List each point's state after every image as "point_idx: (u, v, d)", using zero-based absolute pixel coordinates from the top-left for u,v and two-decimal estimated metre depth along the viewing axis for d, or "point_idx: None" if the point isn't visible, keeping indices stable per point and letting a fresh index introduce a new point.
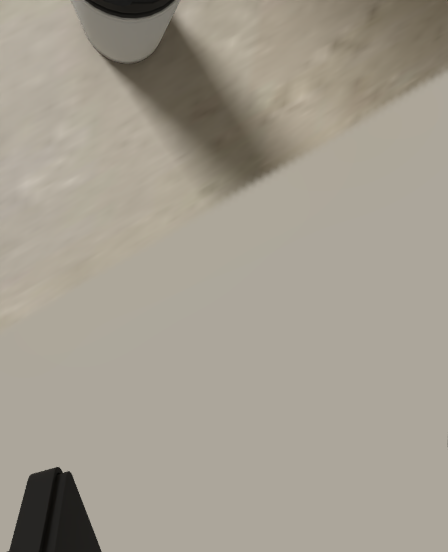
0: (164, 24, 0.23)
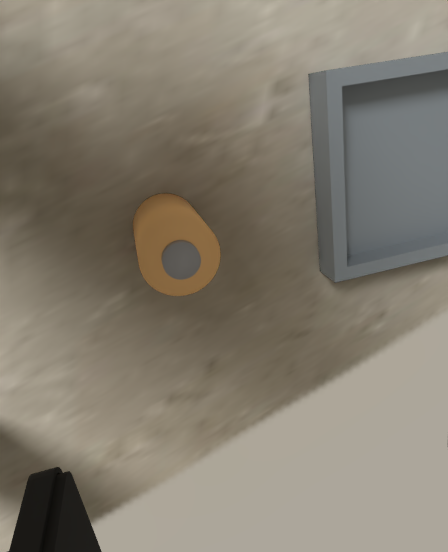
0: None
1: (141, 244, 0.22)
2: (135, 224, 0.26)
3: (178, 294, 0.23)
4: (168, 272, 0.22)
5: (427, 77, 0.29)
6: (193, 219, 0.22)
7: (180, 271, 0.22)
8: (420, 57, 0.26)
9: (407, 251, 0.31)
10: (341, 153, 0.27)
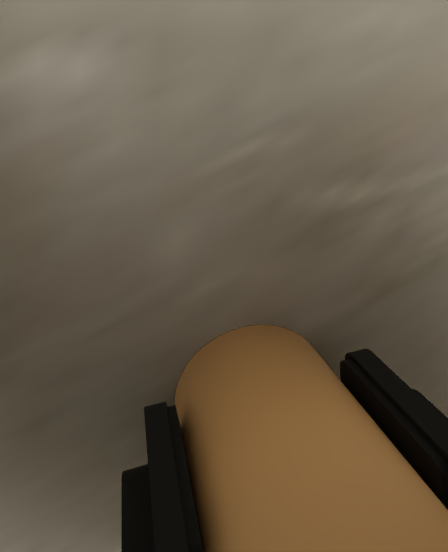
0: None
1: None
2: (189, 434, 0.09)
3: None
4: None
5: None
6: None
7: None
8: None
9: None
10: None
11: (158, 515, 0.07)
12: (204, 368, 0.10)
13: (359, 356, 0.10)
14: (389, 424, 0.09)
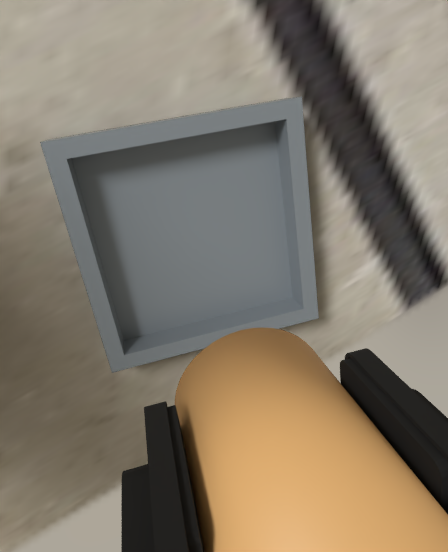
0: None
1: None
2: (189, 438, 0.09)
3: None
4: None
5: (200, 138, 0.25)
6: None
7: None
8: (165, 122, 0.22)
9: (201, 333, 0.27)
10: (85, 233, 0.23)
11: (158, 515, 0.07)
12: (204, 371, 0.10)
13: (359, 356, 0.10)
14: (389, 424, 0.09)
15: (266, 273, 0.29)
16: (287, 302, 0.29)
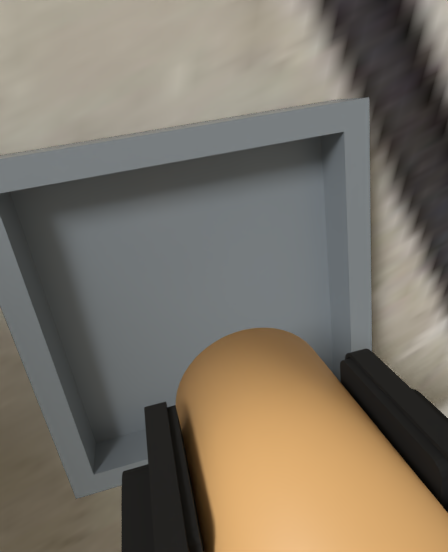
0: None
1: None
2: (190, 438, 0.09)
3: None
4: None
5: (210, 159, 0.16)
6: None
7: None
8: (155, 135, 0.14)
9: None
10: (28, 308, 0.15)
11: (158, 515, 0.07)
12: (205, 371, 0.10)
13: (359, 356, 0.10)
14: (389, 424, 0.09)
15: None
16: None
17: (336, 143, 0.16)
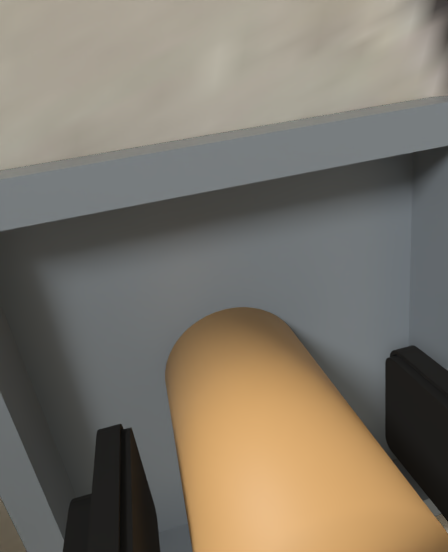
0: None
1: None
2: (176, 401, 0.11)
3: None
4: None
5: (260, 181, 0.11)
6: (396, 507, 0.06)
7: None
8: (189, 150, 0.09)
9: None
10: None
11: None
12: (190, 344, 0.12)
13: (407, 353, 0.10)
14: (446, 422, 0.09)
15: (365, 421, 0.15)
16: None
17: (443, 159, 0.11)
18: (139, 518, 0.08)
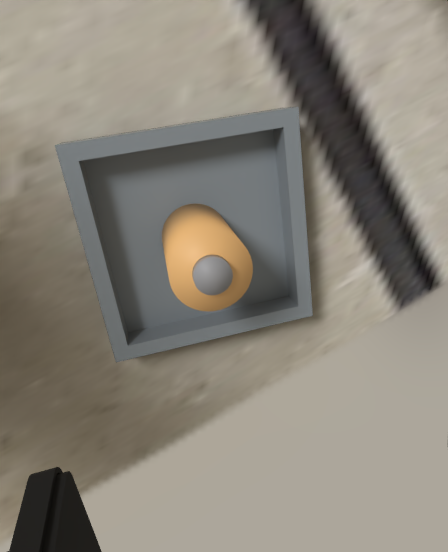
0: None
1: (173, 256, 0.21)
2: (165, 233, 0.26)
3: (206, 309, 0.22)
4: (198, 287, 0.21)
5: (203, 144, 0.26)
6: (227, 234, 0.21)
7: (210, 286, 0.21)
8: (170, 128, 0.24)
9: (201, 327, 0.29)
10: (93, 230, 0.25)
11: None
12: (173, 215, 0.26)
13: None
14: None
15: (264, 272, 0.30)
16: (283, 300, 0.31)
17: (280, 134, 0.26)
18: None
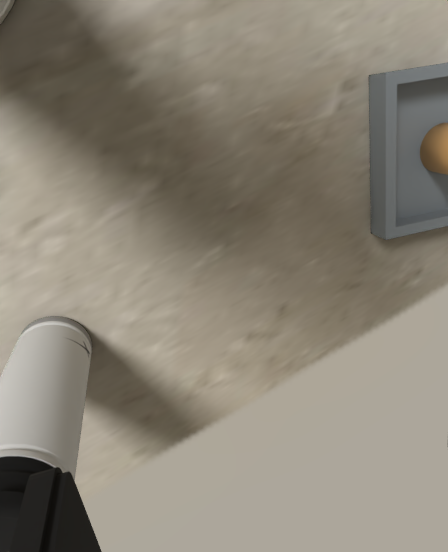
0: None
1: None
2: (439, 137, 0.36)
3: None
4: None
5: None
6: None
7: None
8: None
9: (442, 216, 0.39)
10: (394, 136, 0.35)
11: None
12: (439, 127, 0.37)
13: None
14: None
15: None
16: None
17: None
18: None
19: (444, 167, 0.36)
